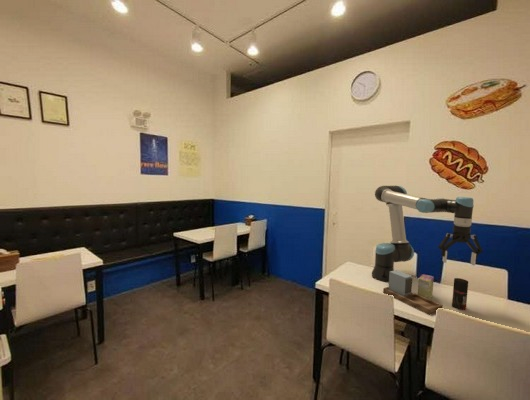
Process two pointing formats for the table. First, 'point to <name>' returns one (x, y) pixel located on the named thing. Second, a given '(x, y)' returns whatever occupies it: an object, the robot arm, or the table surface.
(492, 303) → the table surface
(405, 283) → the matte grey rectangular block
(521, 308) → the table surface
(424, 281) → the box
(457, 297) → the deodorant
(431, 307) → the tray
